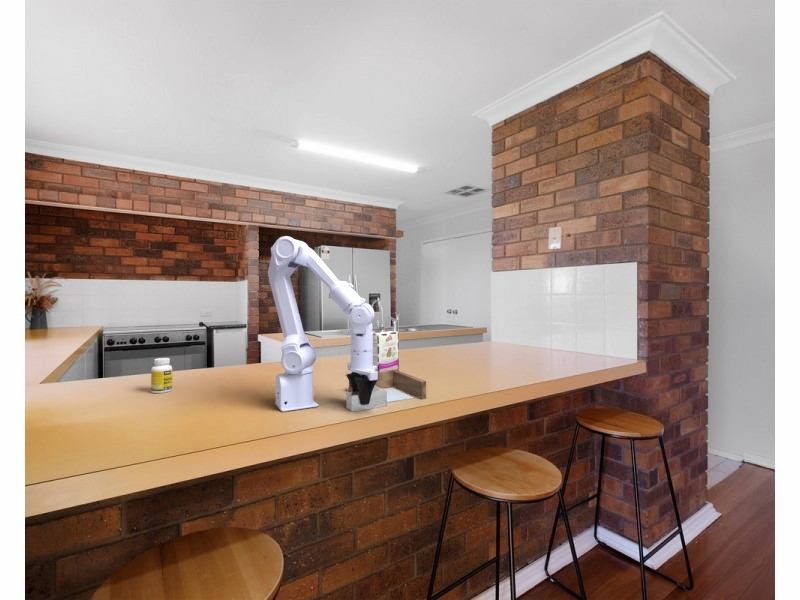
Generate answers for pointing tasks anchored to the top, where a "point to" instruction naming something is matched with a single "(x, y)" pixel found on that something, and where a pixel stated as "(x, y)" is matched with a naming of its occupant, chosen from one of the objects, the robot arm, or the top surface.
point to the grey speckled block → (376, 400)
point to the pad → (396, 395)
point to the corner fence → (401, 383)
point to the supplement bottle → (161, 376)
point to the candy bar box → (386, 351)
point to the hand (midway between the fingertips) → (361, 402)
